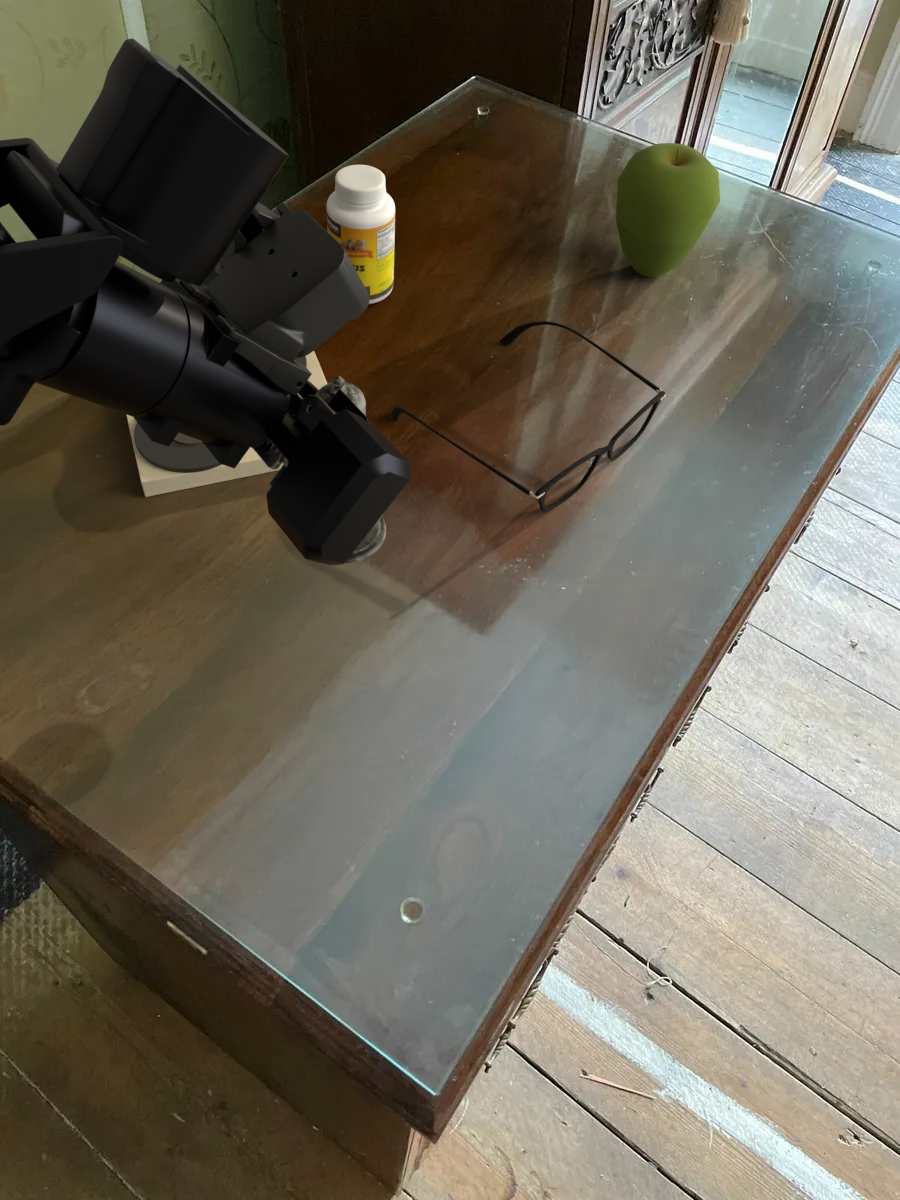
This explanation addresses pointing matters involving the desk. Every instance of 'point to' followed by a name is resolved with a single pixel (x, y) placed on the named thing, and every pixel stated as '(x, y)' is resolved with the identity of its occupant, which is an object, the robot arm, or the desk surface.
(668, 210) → the apple
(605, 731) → the desk surface
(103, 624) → the desk surface
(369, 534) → the pewter sugar caster
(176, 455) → the stove
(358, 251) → the supplement bottle
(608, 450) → the eyeglasses
